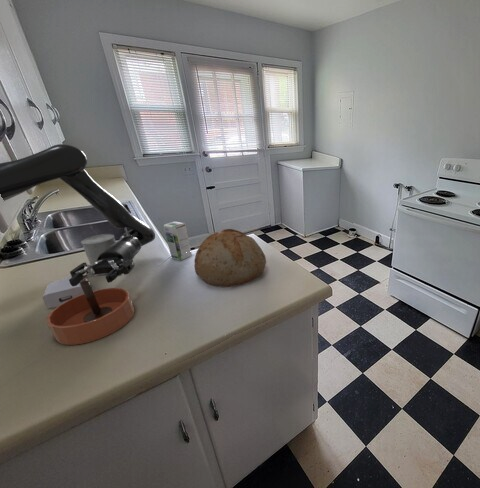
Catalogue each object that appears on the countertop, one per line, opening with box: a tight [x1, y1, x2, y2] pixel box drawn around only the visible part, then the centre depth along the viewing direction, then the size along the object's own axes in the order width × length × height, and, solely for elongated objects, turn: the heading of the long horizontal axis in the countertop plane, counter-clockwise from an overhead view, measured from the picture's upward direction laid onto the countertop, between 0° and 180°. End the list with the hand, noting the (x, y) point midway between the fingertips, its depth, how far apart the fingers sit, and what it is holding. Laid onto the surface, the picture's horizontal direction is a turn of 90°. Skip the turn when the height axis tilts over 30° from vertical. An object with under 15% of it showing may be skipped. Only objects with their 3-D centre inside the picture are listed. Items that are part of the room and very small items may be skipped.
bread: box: [193, 228, 267, 288], centre depth 97 cm, size 26×23×15 cm
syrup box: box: [163, 221, 193, 261], centre depth 109 cm, size 6×6×14 cm
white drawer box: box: [41, 274, 88, 309], centre depth 87 cm, size 5×9×15 cm
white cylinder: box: [80, 233, 117, 276], centre depth 100 cm, size 10×10×12 cm
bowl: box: [46, 287, 135, 346], centre depth 74 cm, size 17×17×6 cm
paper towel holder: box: [80, 278, 113, 323], centre depth 73 cm, size 6×6×12 cm
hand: (90, 281), depth 73 cm, fingers open, 8 cm apart
